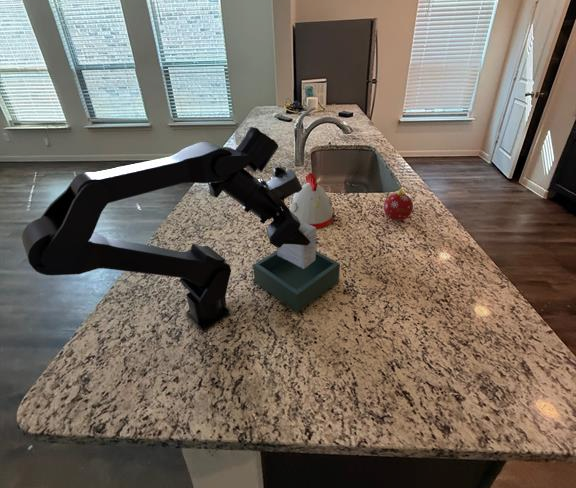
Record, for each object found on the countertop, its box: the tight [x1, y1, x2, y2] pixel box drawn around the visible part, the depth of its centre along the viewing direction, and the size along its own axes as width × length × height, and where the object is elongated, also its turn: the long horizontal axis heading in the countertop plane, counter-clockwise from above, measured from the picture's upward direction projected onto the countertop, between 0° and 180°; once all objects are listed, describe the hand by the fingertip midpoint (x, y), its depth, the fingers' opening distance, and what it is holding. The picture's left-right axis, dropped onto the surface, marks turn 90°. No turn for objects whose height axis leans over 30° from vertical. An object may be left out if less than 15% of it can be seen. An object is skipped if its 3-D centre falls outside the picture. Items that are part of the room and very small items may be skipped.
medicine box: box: [276, 221, 317, 269], centre depth 68 cm, size 8×4×9 cm, turn 48°
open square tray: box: [252, 250, 341, 314], centre depth 72 cm, size 14×14×5 cm
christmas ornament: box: [383, 189, 414, 222], centre depth 96 cm, size 9×9×10 cm
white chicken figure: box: [289, 172, 334, 229], centre depth 96 cm, size 14×14×15 cm
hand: (302, 232), depth 67 cm, fingers closed on medicine box, 9 cm apart
